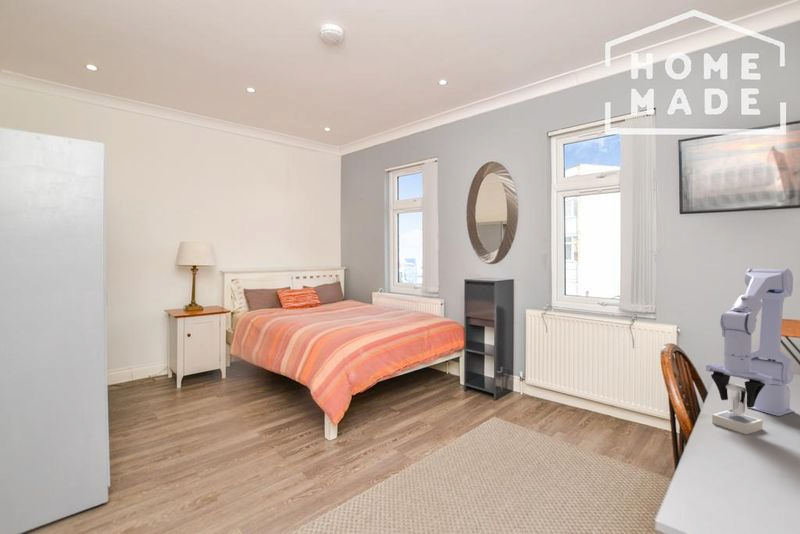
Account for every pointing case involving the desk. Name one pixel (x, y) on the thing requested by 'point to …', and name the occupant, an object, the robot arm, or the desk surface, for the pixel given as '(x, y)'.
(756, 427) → the plinth
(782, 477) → the desk surface
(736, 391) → the milkshake
